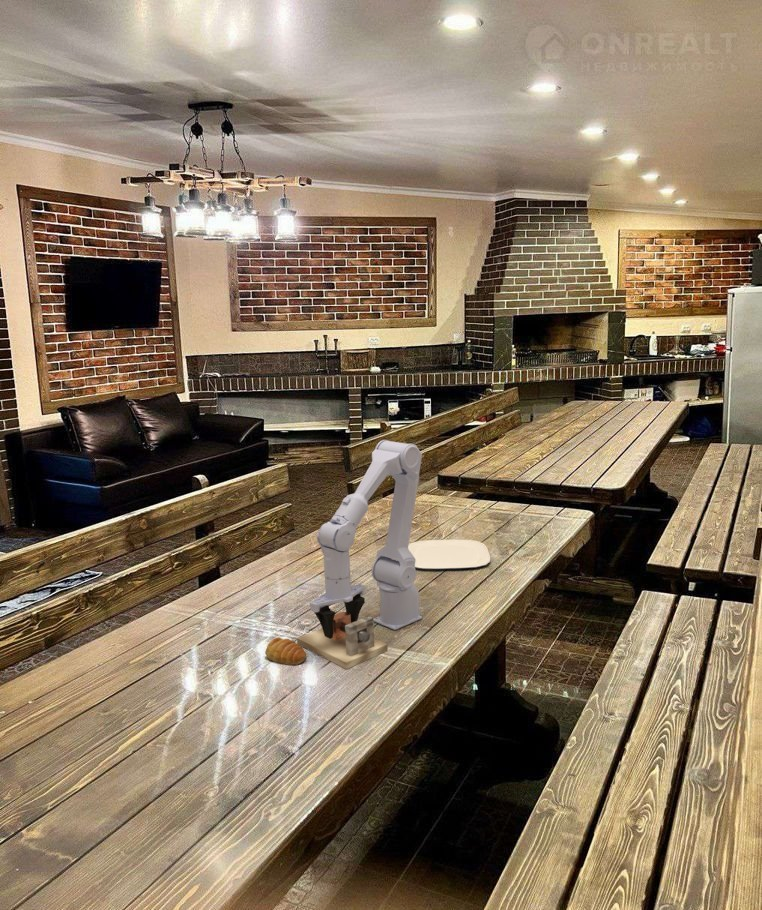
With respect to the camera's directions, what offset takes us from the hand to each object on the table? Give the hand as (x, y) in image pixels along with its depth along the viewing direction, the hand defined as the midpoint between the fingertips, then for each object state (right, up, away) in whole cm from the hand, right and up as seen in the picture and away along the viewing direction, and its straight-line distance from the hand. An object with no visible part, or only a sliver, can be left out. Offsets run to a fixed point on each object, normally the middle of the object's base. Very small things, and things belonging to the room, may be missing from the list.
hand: (340, 632), depth 173 cm
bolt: (+3, -1, -3) cm, 4 cm away
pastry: (-12, -5, -3) cm, 13 cm away
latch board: (0, -4, +1) cm, 4 cm away
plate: (+29, +9, +57) cm, 65 cm away
